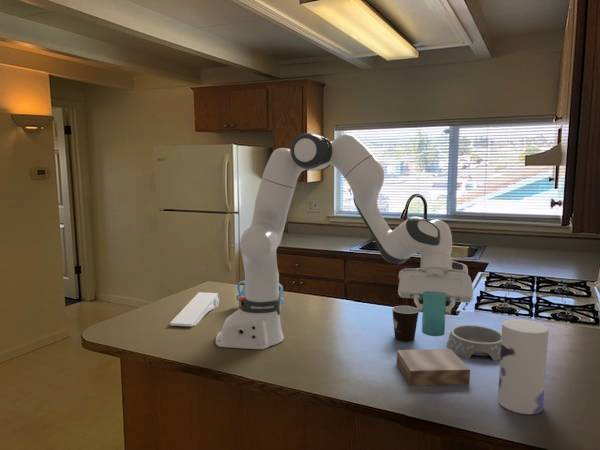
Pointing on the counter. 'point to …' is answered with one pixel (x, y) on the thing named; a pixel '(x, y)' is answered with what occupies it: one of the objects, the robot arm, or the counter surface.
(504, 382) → the container
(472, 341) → the dog bowl
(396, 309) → the coffee mug
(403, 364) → the wavy tan tile
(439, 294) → the teal rounded cylinder
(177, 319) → the white curved piece
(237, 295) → the blue figurine
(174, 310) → the counter surface
